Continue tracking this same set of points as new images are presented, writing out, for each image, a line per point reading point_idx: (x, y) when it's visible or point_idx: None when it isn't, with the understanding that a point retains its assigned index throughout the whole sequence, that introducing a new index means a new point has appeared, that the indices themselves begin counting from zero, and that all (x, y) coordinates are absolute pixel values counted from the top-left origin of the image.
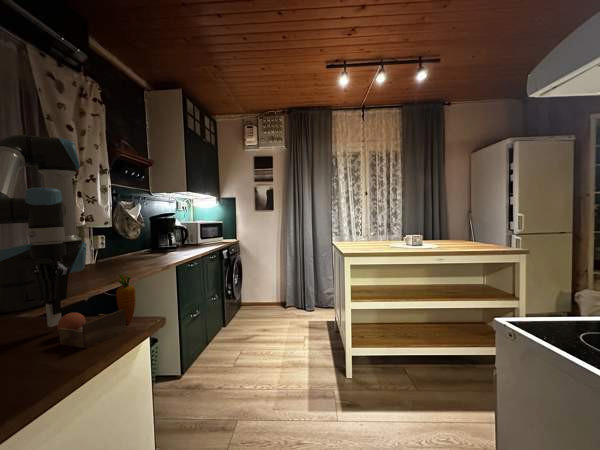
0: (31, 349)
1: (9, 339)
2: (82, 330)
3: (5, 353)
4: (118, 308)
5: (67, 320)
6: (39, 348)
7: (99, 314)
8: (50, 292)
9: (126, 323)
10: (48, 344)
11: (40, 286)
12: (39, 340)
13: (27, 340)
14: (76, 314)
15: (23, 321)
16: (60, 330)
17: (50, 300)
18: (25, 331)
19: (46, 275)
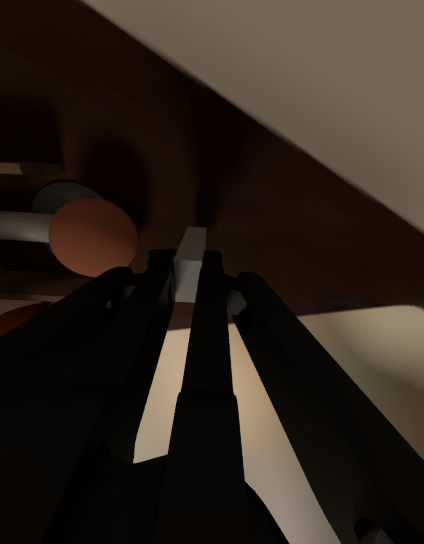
0: (106, 108)
1: (291, 156)
2: (31, 220)
3: (160, 53)
4: (1, 325)
5: (54, 219)
6: (88, 121)
7: (62, 297)
8: (139, 298)
9: (43, 303)
10: (99, 154)
11: (271, 338)
12: (169, 172)
13: (212, 163)
14: (58, 256)
15: (402, 274)
16: (14, 163)
17: (161, 270)
18: (305, 218)
19: (42, 459)
